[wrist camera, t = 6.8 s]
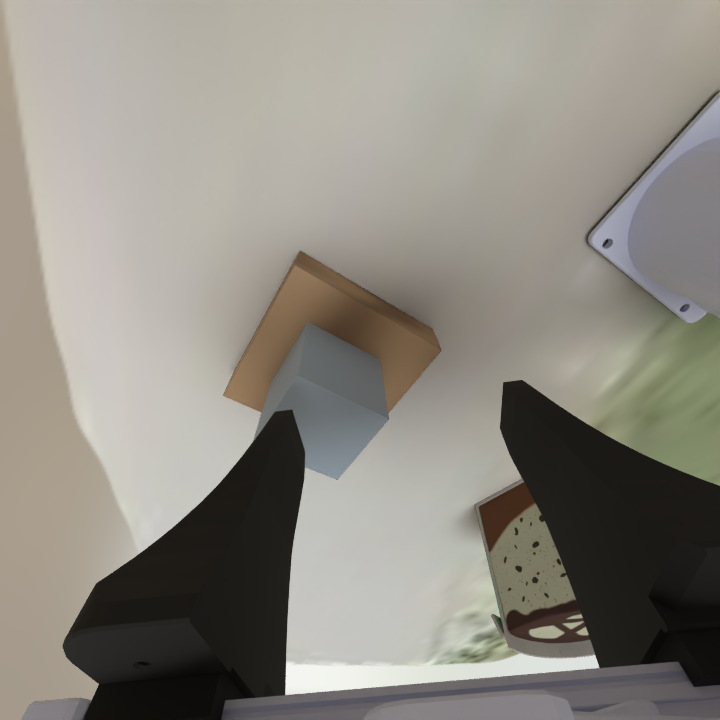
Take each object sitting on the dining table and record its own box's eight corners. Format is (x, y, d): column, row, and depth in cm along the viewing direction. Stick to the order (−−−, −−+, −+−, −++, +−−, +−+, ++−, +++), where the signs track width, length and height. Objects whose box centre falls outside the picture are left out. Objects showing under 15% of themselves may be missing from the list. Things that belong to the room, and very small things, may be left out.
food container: (497, 542, 35) (547, 678, 26) (459, 512, 32) (501, 651, 23) (628, 478, 30) (738, 613, 22) (596, 437, 28) (707, 572, 19)
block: (379, 359, 21) (388, 418, 16) (338, 414, 23) (337, 479, 18) (307, 321, 19) (297, 375, 15) (270, 383, 21) (251, 446, 17)
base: (432, 329, 23) (441, 350, 21) (354, 426, 27) (354, 452, 24) (299, 250, 20) (294, 265, 18) (233, 371, 24) (222, 395, 22)
